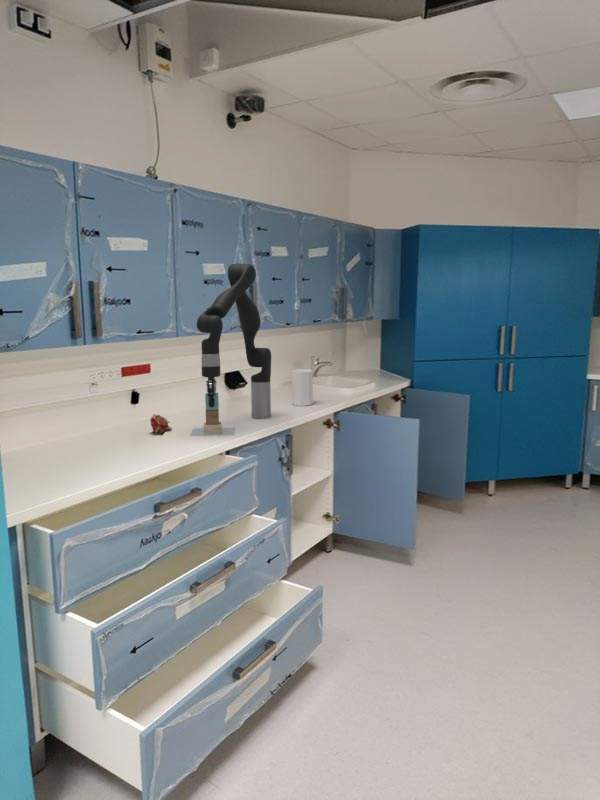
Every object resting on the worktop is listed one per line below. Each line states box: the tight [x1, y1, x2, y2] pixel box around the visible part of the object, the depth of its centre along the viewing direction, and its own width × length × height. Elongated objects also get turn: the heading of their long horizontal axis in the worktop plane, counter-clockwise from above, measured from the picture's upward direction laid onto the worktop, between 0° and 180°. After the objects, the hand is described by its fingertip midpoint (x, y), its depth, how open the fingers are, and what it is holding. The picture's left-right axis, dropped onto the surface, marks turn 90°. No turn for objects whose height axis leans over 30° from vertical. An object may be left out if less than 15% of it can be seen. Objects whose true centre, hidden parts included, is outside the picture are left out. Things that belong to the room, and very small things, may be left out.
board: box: [189, 426, 236, 437], centre depth 242 cm, size 14×18×1 cm
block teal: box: [204, 392, 220, 411], centre depth 238 cm, size 5×5×6 cm
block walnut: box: [205, 407, 220, 425], centre depth 239 cm, size 5×5×6 cm
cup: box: [291, 368, 314, 407], centre depth 310 cm, size 11×11×18 cm
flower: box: [149, 413, 173, 435], centre depth 245 cm, size 10×9×8 cm
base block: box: [203, 421, 223, 436], centre depth 240 cm, size 7×7×4 cm
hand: (212, 405), depth 238 cm, fingers closed on block teal, 5 cm apart
